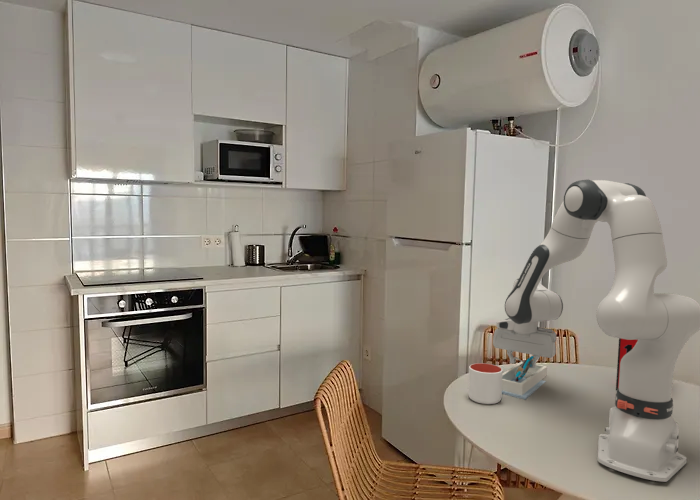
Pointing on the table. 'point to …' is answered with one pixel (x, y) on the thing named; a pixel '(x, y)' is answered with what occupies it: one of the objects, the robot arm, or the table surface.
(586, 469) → the table surface
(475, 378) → the cup
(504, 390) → the white blue rectangular tray
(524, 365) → the gear mechanism
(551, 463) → the table surface
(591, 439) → the table surface
